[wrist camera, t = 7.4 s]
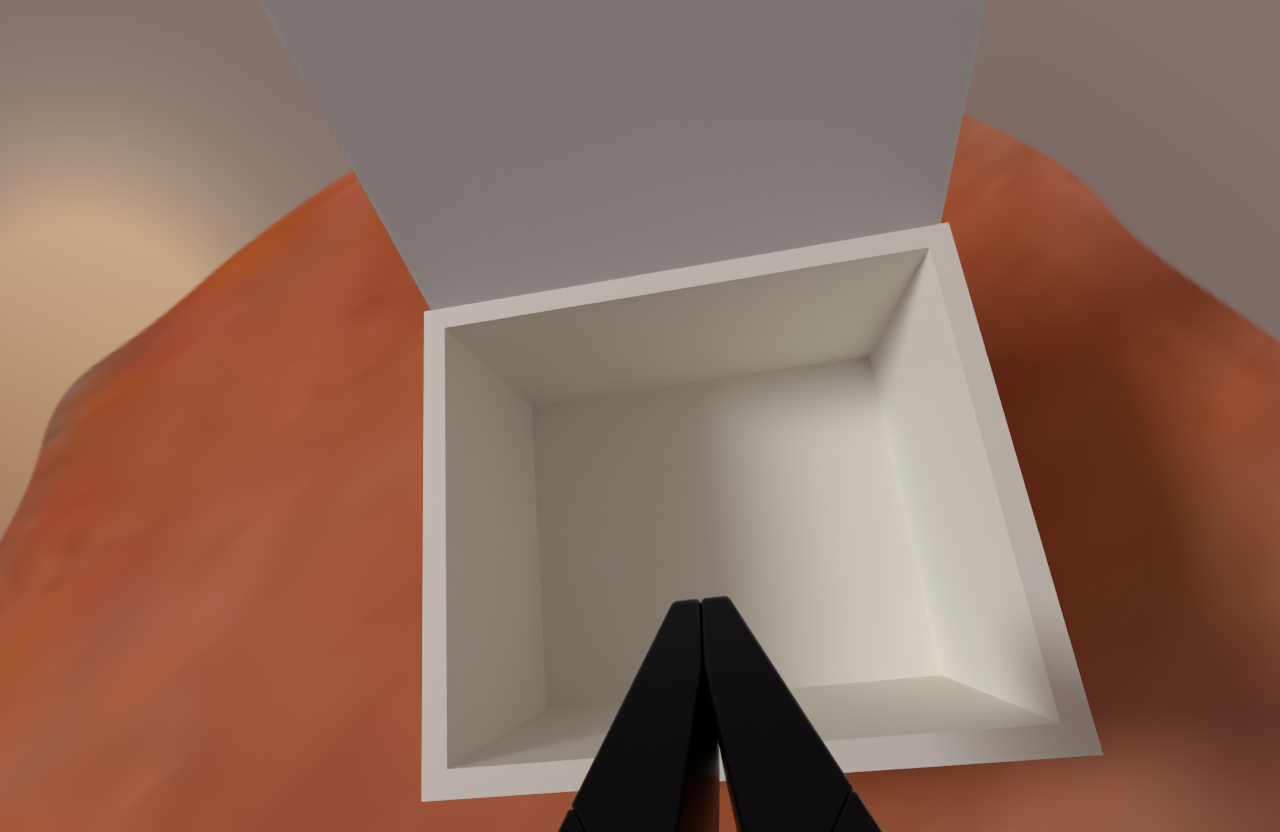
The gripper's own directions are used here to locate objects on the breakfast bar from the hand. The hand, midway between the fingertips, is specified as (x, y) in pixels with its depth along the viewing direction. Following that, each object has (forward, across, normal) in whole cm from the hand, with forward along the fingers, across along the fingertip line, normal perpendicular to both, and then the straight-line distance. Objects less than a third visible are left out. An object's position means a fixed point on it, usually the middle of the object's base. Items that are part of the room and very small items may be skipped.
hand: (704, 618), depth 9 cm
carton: (+11, 0, +7) cm, 13 cm away
